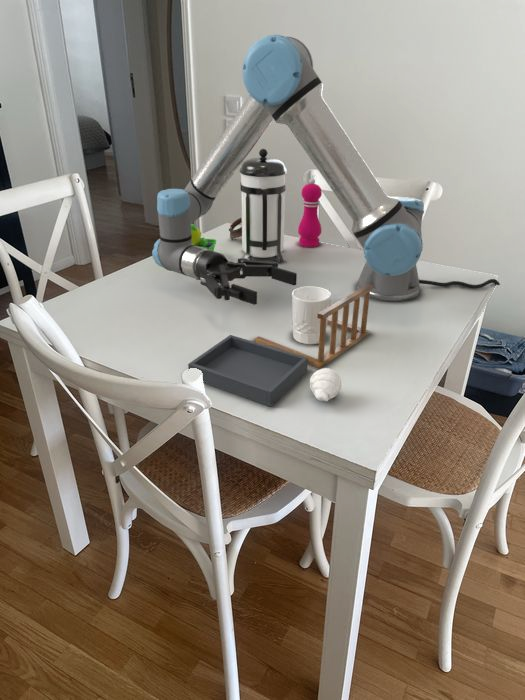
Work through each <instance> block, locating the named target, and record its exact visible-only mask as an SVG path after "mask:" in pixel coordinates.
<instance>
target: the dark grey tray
mask: <svg viewBox="0 0 525 700" xmlns="http://www.w3.org/2000/svg"><path fill="white" fill-rule="evenodd" d="M308 365H309V364H308V358H307V357H304V356H300V355H297V354H293V353H290V352H287V351H283V350H280V349H277V348H273V347H270V346H266V345H263V344H260V343H256V342H255V341H254V340H249V339H247V338H243V337H239V336H235V335H233V334H229V335H228V336H226V337H225V338H224V339H222V340H220V341H219V342H218V343H216V344H215V345H213V346H212V347H210V348H209V349H207V350H206V351H205V352H204V353H201V354H200V355H198V357H196V358H194V359H193V360H192V361H190V362H189V363H187V368H188V369H190V368H197V369H199V370H201V371H202V373H203V381H204V383H203V384H206V385H209V386H211V387H214V388H217V389H220V390H222V391H225V392H228V393H231V394H234V395H237V396H239V397H242V398H245V399H247V400H251V401H253V402H255V403H259V404H261V405H265V406H267V407H272V406H273V405H275V403H276V402H277V401H278V400H279V399H280V398H282V397H283V396H284V395H285V394H286V393H287V392H288V391H289V390H290V389H291V388H292V387H293V386H294V385H295V384H296V383H297V382H299V380H300V379H302V378H303V376H305V374H306V373H307V372H308V367H309V366H308Z"/></svg>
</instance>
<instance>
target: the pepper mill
mask: <svg viewBox="0 0 525 700" xmlns="http://www.w3.org/2000/svg"><path fill="white" fill-rule="evenodd" d="M322 193H323V191H322V188H321V186H319V184H316V179H315V178H312V177H311V178H309V180H308V183H307V184H305V185H303V187H302V189H301V197H302V198H303V200H302V206H303V214H302V217H301V219H300V222H299V224H298V228H297V233H298V235H299V236H300V237H298V238H299V239H298V244H299V245H300V246H301V247H305V248H316V247H318V246H319V245H320V238H319V237H320V236H321V234H322V225H321V221H320V219H319V214H318V209H319V206H320V198H321V197H322Z"/></svg>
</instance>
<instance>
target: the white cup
mask: <svg viewBox="0 0 525 700" xmlns="http://www.w3.org/2000/svg"><path fill="white" fill-rule="evenodd" d="M331 298H332V293H331V292H330V291H329V290H328V289H326V288H323V287H321V286H314V285H306V286H300V287H297V288H295V289H293V290H292V291H291V303H292V304H291V318H292V337H293V339H294V341H296V342H298V343H300V344H304V345H317V344H319V334H320V319H319V318H317V315H318V313H319V312H321V311H322V310H324V309H326V308H327V307H329V306H331V300H332V299H331ZM328 317H329V316H328ZM328 317H327V319H326V328H327V327H328V324H327V322H328Z"/></svg>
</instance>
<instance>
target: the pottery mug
mask: <svg viewBox="0 0 525 700" xmlns="http://www.w3.org/2000/svg"><path fill="white" fill-rule="evenodd" d="M240 224H242V217H239V218H237V219H236V220H234V221H233V222H232V223H231V224H230V225H229V228H228V231H229V238H230V239H231V240H232V241H233V240H234V239H239V238H242V226H240V227H238V225H240ZM236 227H238V228H237V229H235V228H236Z"/></svg>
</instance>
